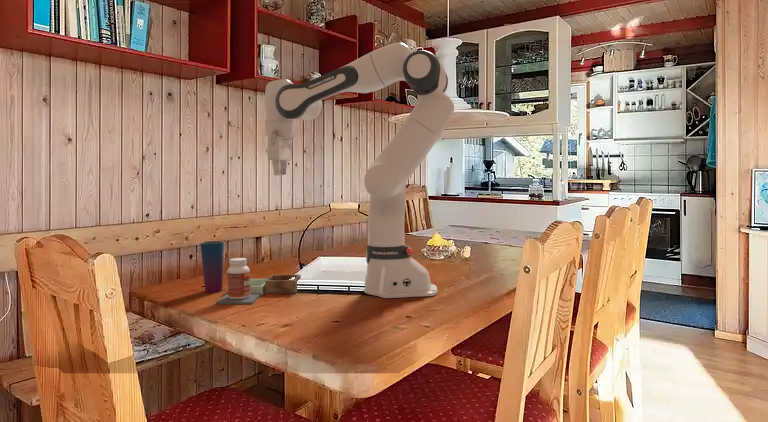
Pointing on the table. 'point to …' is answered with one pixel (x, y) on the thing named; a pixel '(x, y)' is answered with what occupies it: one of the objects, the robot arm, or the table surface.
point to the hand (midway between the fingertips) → (280, 175)
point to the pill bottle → (238, 279)
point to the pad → (249, 300)
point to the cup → (212, 265)
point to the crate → (281, 284)
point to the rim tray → (256, 286)
